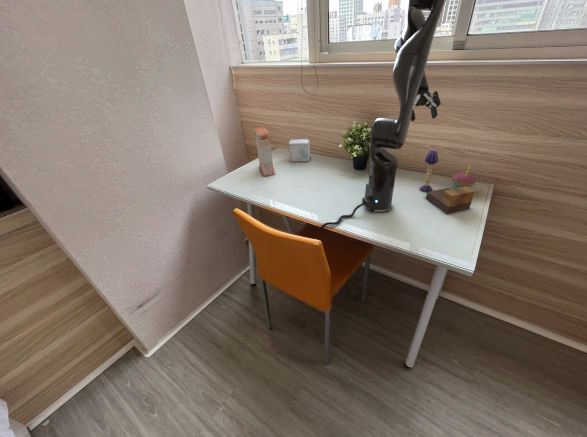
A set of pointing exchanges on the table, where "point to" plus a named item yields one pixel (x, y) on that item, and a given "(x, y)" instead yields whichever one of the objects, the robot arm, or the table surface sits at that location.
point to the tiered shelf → (443, 207)
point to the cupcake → (463, 179)
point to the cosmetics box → (299, 150)
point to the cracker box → (264, 151)
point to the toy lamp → (429, 169)
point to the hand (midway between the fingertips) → (424, 118)
